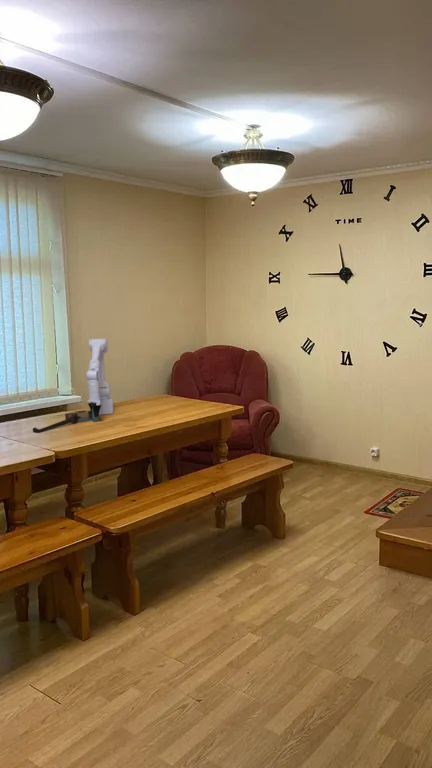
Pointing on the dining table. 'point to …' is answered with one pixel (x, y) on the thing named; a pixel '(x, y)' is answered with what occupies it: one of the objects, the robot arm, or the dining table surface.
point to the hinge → (81, 415)
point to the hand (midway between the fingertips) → (95, 416)
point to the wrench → (59, 423)
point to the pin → (95, 419)
